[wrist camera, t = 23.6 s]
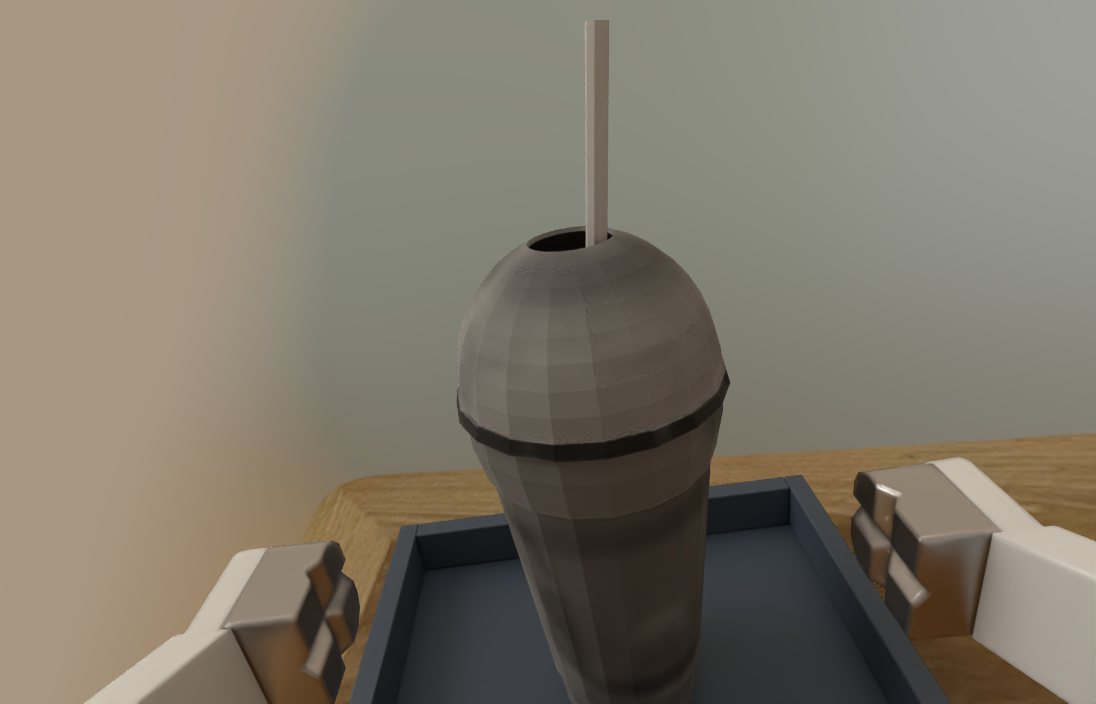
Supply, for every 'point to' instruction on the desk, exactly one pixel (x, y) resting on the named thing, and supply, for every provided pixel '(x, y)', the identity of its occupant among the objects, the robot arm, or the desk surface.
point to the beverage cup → (600, 435)
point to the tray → (726, 622)
